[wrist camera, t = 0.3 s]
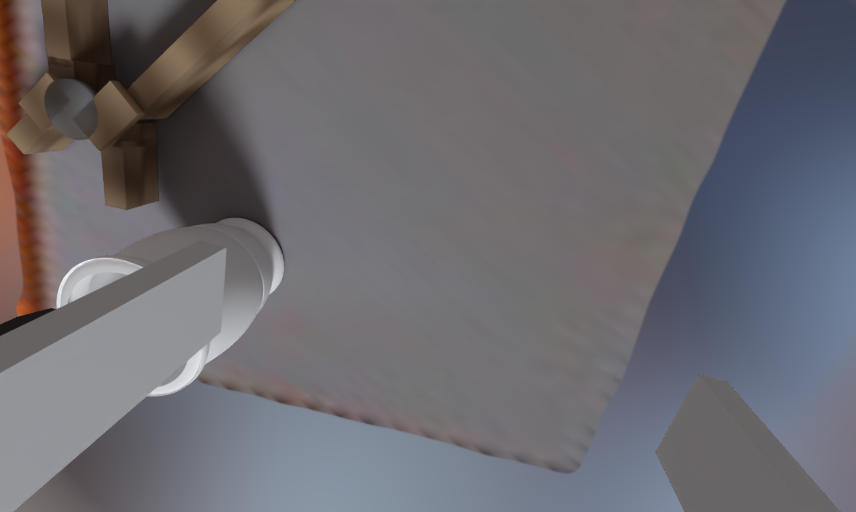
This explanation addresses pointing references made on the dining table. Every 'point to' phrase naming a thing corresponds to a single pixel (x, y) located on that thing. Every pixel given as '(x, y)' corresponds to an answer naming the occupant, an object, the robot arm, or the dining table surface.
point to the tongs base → (91, 63)
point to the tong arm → (140, 83)
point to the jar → (243, 286)
